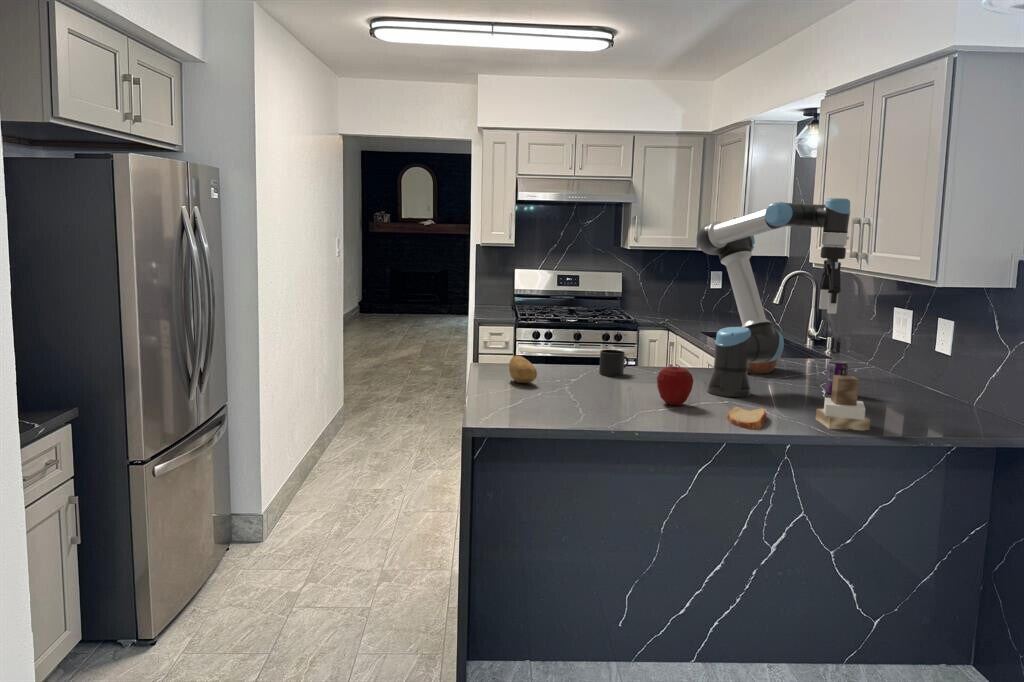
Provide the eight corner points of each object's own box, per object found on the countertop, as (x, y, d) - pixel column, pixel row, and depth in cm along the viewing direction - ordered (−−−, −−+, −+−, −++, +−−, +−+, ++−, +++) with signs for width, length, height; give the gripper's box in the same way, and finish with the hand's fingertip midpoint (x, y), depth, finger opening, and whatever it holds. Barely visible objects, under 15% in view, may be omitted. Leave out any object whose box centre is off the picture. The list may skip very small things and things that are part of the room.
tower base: (828, 430, 241) (830, 417, 240) (815, 420, 253) (816, 408, 252) (869, 432, 241) (870, 419, 240) (853, 422, 252) (855, 410, 252)
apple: (648, 401, 268) (650, 362, 266) (677, 399, 273) (680, 361, 271) (668, 409, 258) (671, 369, 255) (698, 407, 262) (701, 367, 260)
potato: (516, 387, 282) (517, 361, 281) (504, 379, 297) (504, 354, 296) (539, 387, 285) (540, 361, 284) (526, 378, 300) (527, 353, 298)
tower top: (824, 415, 243) (826, 404, 242) (823, 408, 253) (824, 397, 252) (864, 420, 239) (865, 408, 239) (861, 412, 249) (862, 401, 249)
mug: (633, 376, 312) (634, 353, 311) (605, 376, 308) (606, 353, 307) (622, 371, 321) (623, 349, 320) (595, 372, 317) (596, 349, 316)
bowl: (789, 377, 322) (792, 349, 320) (727, 374, 322) (729, 346, 321) (770, 366, 347) (773, 340, 345) (713, 363, 347) (715, 337, 345)
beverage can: (847, 396, 289) (850, 363, 287) (826, 394, 290) (829, 362, 289) (843, 392, 296) (846, 360, 294) (823, 390, 297) (826, 359, 295)
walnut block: (835, 404, 243) (838, 378, 242) (830, 400, 249) (833, 374, 248) (856, 405, 242) (859, 379, 241) (851, 401, 248) (853, 376, 247)
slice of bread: (749, 431, 235) (750, 419, 235) (707, 417, 251) (708, 405, 250) (793, 426, 244) (794, 414, 243) (749, 412, 260) (750, 401, 259)
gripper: (855, 248, 248) (848, 316, 251) (837, 245, 272) (831, 307, 275) (829, 247, 249) (822, 314, 252) (814, 244, 273) (808, 306, 276)
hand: (827, 311), depth 264 cm, fingers open, 13 cm apart
